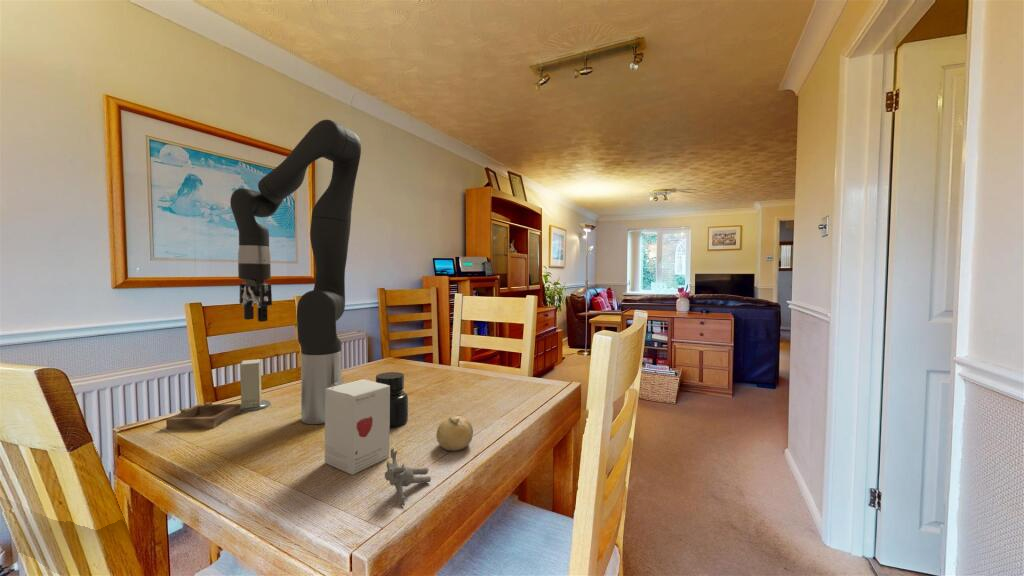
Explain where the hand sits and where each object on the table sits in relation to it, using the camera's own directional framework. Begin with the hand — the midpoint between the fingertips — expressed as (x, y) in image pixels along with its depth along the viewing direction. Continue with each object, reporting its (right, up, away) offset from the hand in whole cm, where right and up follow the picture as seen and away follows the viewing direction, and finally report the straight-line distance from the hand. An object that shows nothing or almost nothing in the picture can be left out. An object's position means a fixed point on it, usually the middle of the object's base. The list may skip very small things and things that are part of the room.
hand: (255, 320), depth 108 cm
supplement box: (+41, -26, -31) cm, 57 cm away
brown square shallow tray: (-5, -24, -11) cm, 27 cm away
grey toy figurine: (+53, -26, -41) cm, 72 cm away
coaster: (0, -24, -1) cm, 24 cm away
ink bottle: (+41, -25, -11) cm, 49 cm away
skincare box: (0, -24, -1) cm, 24 cm away
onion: (+60, -26, -24) cm, 69 cm away
